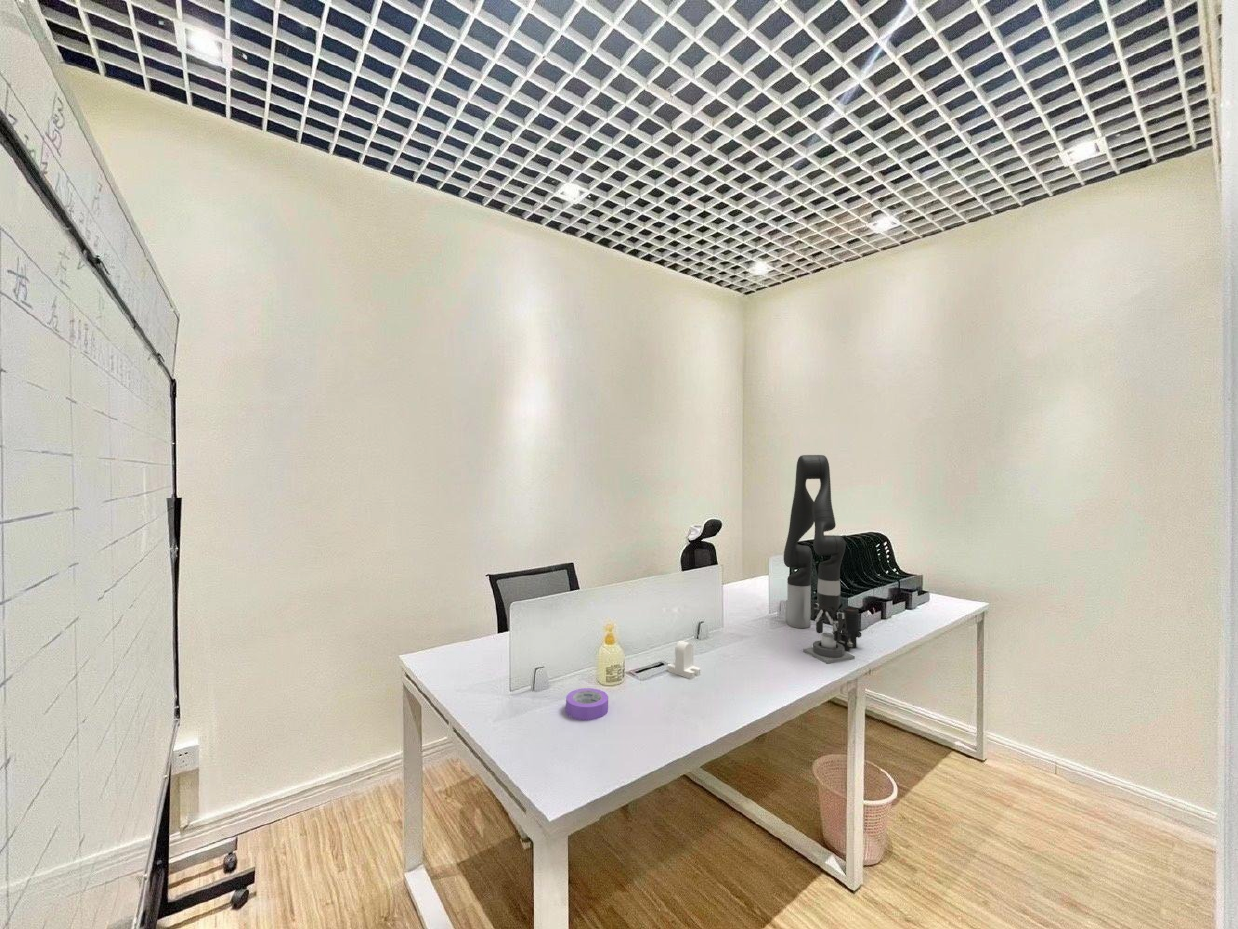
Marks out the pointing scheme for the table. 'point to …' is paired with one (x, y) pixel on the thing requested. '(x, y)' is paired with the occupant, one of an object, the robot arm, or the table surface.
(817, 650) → the ring on square plate
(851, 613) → the scope
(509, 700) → the table surface
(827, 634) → the cap
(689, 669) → the cable organizer
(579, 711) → the masking tape
